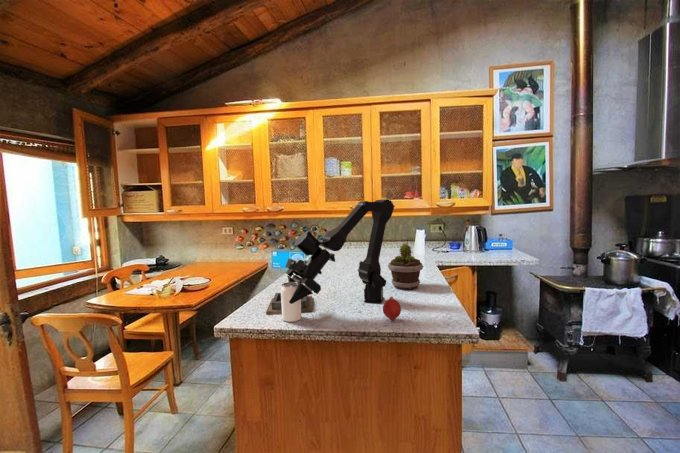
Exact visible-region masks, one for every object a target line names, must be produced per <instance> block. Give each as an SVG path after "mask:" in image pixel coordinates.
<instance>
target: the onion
mask: <svg viewBox="0 0 680 453" xmlns="http://www.w3.org/2000/svg"><path fill="white" fill-rule="evenodd" d="M401 312H402V307H401V304H400V303H399V301H397V300H396V299H395V298H394V296H390V297H389V298H388V299H387V300H386V301H385V302H384V304H383V306H382V313H383V315H384V316H385V317H386V318H387V319H388V320H390V321H392V322H393V321H395V320H396V319H397V318H398V317H400V315H401Z"/></svg>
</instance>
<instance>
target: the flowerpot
mask: <svg viewBox="0 0 680 453" xmlns="http://www.w3.org/2000/svg"><path fill="white" fill-rule="evenodd" d="M407 242H408V241H407ZM407 242H406V241H405V243H401V244H402V245H400V246H399V249H398V250H399V251H398V252H399V253H398V254H397V255H395V256H394V258H393V259H391V261H390V262H388V265H387V268H388V270H389V271H390V272H391V276H392V279H391V283H392V285H393V286H394V288H395V289H398V290H402V291H403V290H405V291H409V290H411V289H412V290H415V289H417V288H418V286H420V283H421V280H420V275H421V271H422V270H423V268H424V265H423V263H422V262H421V260H420V259H417V258H416V257H415V256H413V255H412V253H413V251H412V246H411V245H409V244H408V243H407Z"/></svg>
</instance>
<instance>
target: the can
mask: <svg viewBox="0 0 680 453" xmlns="http://www.w3.org/2000/svg"><path fill="white" fill-rule="evenodd" d="M297 287H298V284H297V282H289V281H287V282H283V283H282V284H281V288H280V293H281V305H282V314H281V319H282V320H283V322H286V323H295V322H298V321H300V320H301V319H302V312H301V299H300V300H298V301H296V302H294V303H293V304H291V303H289V301H290V299H291V298H292V296H293V294H294V293H295V291H296V289H297Z"/></svg>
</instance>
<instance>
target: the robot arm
mask: <svg viewBox="0 0 680 453" xmlns="http://www.w3.org/2000/svg"><path fill="white" fill-rule="evenodd" d="M394 210H395V204H394V203H393V201H392V200H391V199H376V200H374V201H369V200H361V201H359V202H357V204H356V206H355V207H354V208H353V209H352V210H351V211H350V213H348V214H347V216H346V217H345V218H344V219H343V220H342V221H341V222H340V224H338V225H337V227H335V228H333V229H332V230H330V231H328V232H327V233H326V234H325V235H323V236H322V237H321V238H316V237H315V236H314V235H313V234H312V232H311V231H310V230H306V231H305V233H302V234H301V235H300V236H298V237H297V238H296V240H295V241H294V243H293V244H294V246H295V247H296V248H297V249H298V250H299V251H300V252H302V253H303V255H305V256H310V257H309V258H308V260H306V259H305V260H303V259H300V258H297V260H295V259H293V258H289V257H288V259H287V261H286V264H285V266H284V267H285V268H288V270H286V272H285V274H286V276H287V280H288V281H287V282H297V284H298V287H297V289H296V291H295V293H294V294H293V296H292V298H291V299H290V301H289V303H291V304H293V303H294V302H296V301H298V300H300V299H302V298H304V297H306V296H311V295H313V294H316V295H319V294H320V292H321V290H322V288H321V287H322V286H321V284H319V283H318V282H317V281H316V280H315V278H316V277H317V276H318V275H322V274H323V272H322V270H323V268H324V267H325V266H326V264H327V263H328V262H329V261H330V262H334V263H335V262H336V258H335V257H336V256H335V253H332V252H339V251H340V250H341V249H342V248H343V247H344V244H345V243H346V241H347V238H348V236H349V234H350V232H352V231H353V229H354V228H355V227H356V226H357V225H358V224H359V222H361V220H362V219H363V218H364V217H365V216H366V215H367V214H368V213H369V212H371V216H372V220H373V221H372V222H373V223H372V228H371V232H370V236H369V242H368V248H367V252H366V258H364V260H360V261H359V262H358V263H359V264H358V269H357V272H358V277H359V278H360V280H361V281H362V284H364V288H363V294H364V295H363V298H364V301H363V302H364V303H368V304H370V303H373V304H382V302H383V301H384V300H385V297H384V287H386V285H387V280H386V279H385V278H384V277H383V276H382V274H381V272H382V269H381V263H380V257H381V251H382V245H383V241H384V236H385V231H386V226H387V223H388V222H389V221H390V219H391V218H392V215H393V213H394ZM321 247H323V249H322V248H321ZM328 250H329V251H331V253H330V252H329V251H328Z"/></svg>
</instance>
